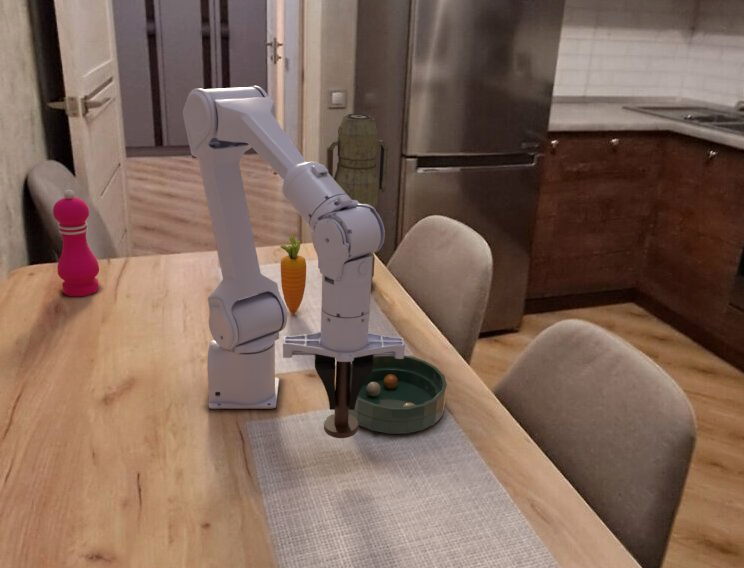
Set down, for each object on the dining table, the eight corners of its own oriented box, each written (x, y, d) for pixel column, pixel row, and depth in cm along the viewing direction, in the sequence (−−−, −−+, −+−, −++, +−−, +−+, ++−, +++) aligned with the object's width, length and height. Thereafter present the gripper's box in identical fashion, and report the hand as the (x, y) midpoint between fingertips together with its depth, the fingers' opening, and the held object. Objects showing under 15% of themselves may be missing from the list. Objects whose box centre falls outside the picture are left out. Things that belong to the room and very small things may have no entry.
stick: (323, 438, 83) (326, 340, 78) (324, 417, 87) (326, 323, 82) (358, 438, 83) (363, 341, 78) (357, 418, 87) (362, 324, 82)
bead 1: (366, 399, 99) (366, 386, 98) (365, 391, 101) (366, 379, 100) (380, 399, 99) (381, 386, 98) (379, 391, 101) (380, 379, 100)
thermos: (317, 280, 141) (320, 112, 128) (369, 274, 146) (377, 111, 132) (331, 297, 133) (336, 120, 120) (385, 290, 138) (396, 119, 125)
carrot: (301, 320, 123) (302, 244, 117) (275, 317, 124) (275, 240, 118) (310, 310, 127) (311, 235, 122) (285, 306, 128) (285, 232, 122)
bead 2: (383, 391, 101) (384, 379, 100) (382, 383, 103) (383, 371, 102) (398, 391, 102) (399, 379, 101) (396, 383, 104) (397, 371, 103)
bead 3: (402, 421, 94) (403, 408, 94) (400, 412, 96) (401, 399, 96) (417, 421, 95) (418, 408, 94) (415, 412, 97) (416, 399, 96)
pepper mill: (63, 284, 131) (49, 184, 123) (103, 282, 133) (92, 184, 126) (57, 299, 125) (43, 195, 117) (99, 296, 127) (87, 194, 119)
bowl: (342, 437, 91) (343, 409, 89) (340, 378, 105) (341, 353, 103) (451, 436, 93) (454, 408, 91) (435, 379, 107) (437, 354, 105)
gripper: (281, 321, 74) (281, 424, 79) (410, 323, 76) (402, 423, 81) (285, 295, 81) (284, 391, 86) (403, 298, 82) (396, 392, 88)
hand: (341, 405), depth 84 cm, fingers closed on stick, 2 cm apart
